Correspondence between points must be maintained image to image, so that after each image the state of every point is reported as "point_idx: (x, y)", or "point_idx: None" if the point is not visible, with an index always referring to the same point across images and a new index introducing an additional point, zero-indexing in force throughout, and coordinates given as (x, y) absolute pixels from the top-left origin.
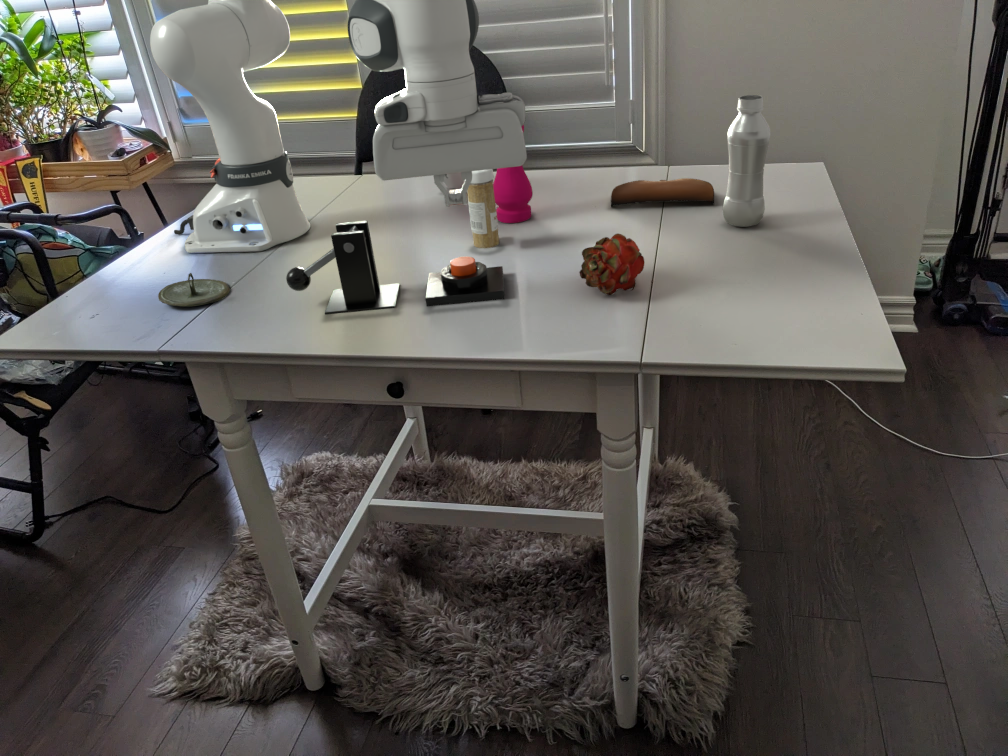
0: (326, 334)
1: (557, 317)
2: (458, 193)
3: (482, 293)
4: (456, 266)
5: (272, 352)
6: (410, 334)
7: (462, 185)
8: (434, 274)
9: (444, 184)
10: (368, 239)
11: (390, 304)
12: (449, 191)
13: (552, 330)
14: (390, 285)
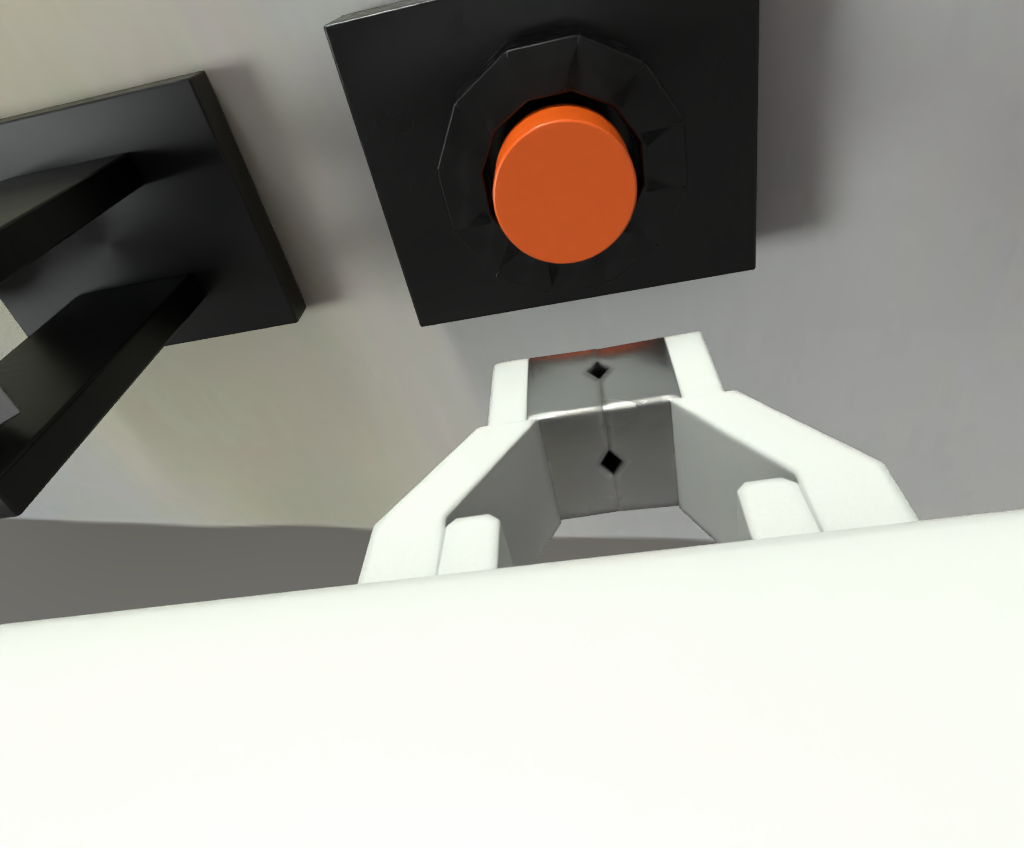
0: (147, 436)
1: (929, 342)
2: (651, 503)
3: (659, 284)
4: (542, 259)
5: (65, 519)
6: (426, 439)
7: (695, 413)
8: (364, 52)
9: (499, 509)
10: None
11: (273, 309)
12: (546, 454)
13: (889, 422)
14: (155, 106)
